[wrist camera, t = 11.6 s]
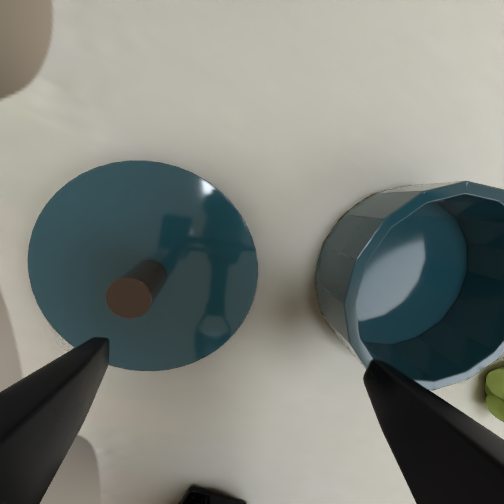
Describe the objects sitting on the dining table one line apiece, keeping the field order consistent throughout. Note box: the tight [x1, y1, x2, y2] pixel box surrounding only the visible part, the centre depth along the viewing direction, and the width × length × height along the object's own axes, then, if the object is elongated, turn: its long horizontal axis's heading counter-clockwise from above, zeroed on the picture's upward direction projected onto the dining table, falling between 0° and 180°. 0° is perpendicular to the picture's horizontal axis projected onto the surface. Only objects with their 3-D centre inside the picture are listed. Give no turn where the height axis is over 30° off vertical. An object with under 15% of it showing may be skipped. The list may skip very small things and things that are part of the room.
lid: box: [28, 161, 258, 371], centre depth 16 cm, size 16×16×5 cm
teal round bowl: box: [316, 181, 504, 390], centre depth 19 cm, size 15×15×5 cm
